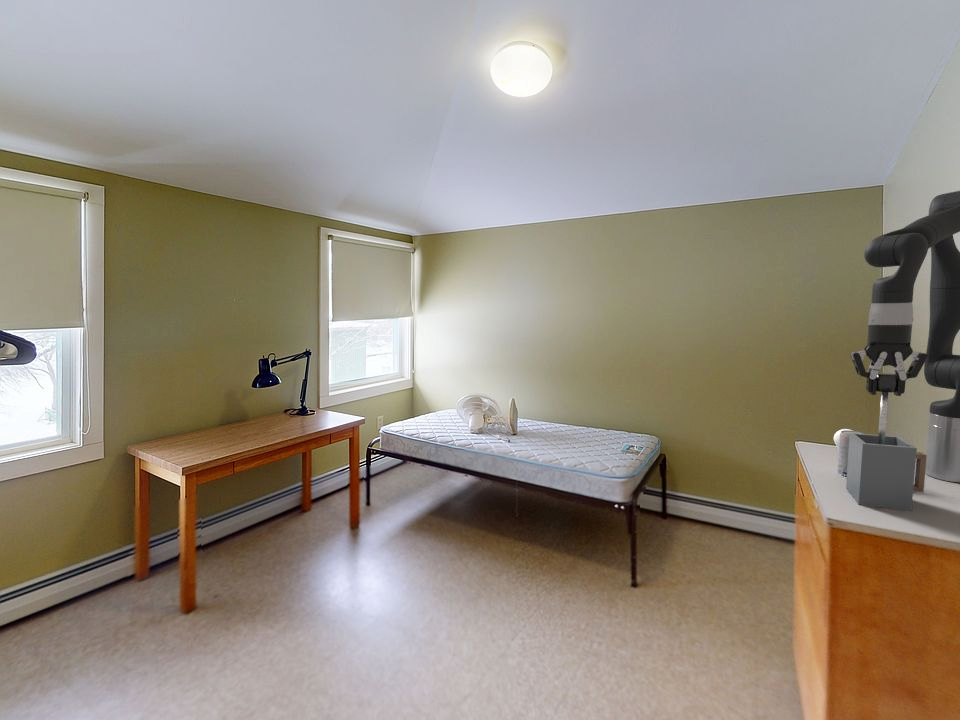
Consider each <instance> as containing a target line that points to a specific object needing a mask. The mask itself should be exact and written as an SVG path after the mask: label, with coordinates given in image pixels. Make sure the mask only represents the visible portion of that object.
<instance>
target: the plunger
mask: <svg viewBox="0 0 960 720" xmlns="http://www.w3.org/2000/svg"><path fill="white" fill-rule="evenodd" d="M897 379H898V375H897V374H895V373H889V372H878V374H877V376H876V380H877V387H876V392H880V393H881V396H880V408H879V418H878V419H879V420H878V431H877V433H878V434H877V435H878V444H882V445H884V443H885V436H886V429H887V427H886V425H887V417H888V416H887V414H888V403H889V393H894V392H897Z"/></svg>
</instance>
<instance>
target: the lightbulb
mask: <svg viewBox="0 0 960 720" xmlns="http://www.w3.org/2000/svg"><path fill="white" fill-rule="evenodd" d="M841 431H854V430H852V429H849V428H842V429H840V430H837V431H836V432H835V433H834V435H833V442H834V444H835V446H836V447H837V450H838V451H839V439H840V433H841Z"/></svg>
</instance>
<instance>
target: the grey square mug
mask: <svg viewBox="0 0 960 720" xmlns="http://www.w3.org/2000/svg"><path fill="white" fill-rule="evenodd" d="M917 450H918V448H917V447H916V446H914V445H912V444H911V443H910V442H908V441H907V440H905V439H904V438H902V437H900V436H895V435H885V443H884V445H882V444H878V434H871V433H869V434H867V433H863V434H857V433H850V437H849V452H848V467H847V477H846V482H845V483H846V486H845V490H846V489H847V490H848V491H847V490H846V491H847V493H849V495H850V494H851V495H852V496H851V495H850V496H851V497H852V499H855V500H854V501H855V502H856V503H857V505H859V504H861V506H866V505H867V506H868V507H874V508H875V507H876V508H883V509H890V510H891V509H892V510H900V511H905V512H912V509H913V508H912V507H913V497H914V492H915V493H916V492H917V493H918V492H919V493H924V492H925V491H924V490H925V481H926V480H925V479H926V474H925V470H926V458H927V455H926V453H924V452H921V451H917Z"/></svg>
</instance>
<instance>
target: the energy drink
mask: <svg viewBox="0 0 960 720" xmlns="http://www.w3.org/2000/svg"><path fill="white" fill-rule="evenodd" d="M850 433H857V434H864V433H863V432H861V431H857V430H856V431H855V430H853V431H841V433H840V439H839V450H838V457H837V459H838V460H837V473H838V474H839V475H840V474H841V476H842V475H845V476H844V477H846V476H847V467H848V452H849V437H850Z"/></svg>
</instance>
